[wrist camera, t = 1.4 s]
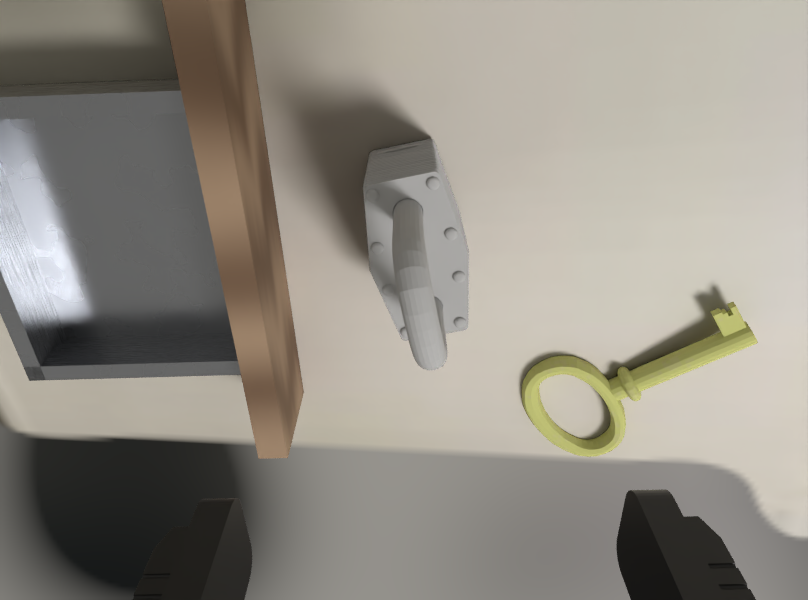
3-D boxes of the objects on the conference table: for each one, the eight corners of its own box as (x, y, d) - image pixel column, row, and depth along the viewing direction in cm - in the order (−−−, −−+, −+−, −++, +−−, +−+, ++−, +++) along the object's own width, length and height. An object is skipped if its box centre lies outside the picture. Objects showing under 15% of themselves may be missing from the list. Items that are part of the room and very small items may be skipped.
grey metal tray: (-39, 87, 24) (-92, 100, 22) (222, 77, 24) (200, 90, 22) (61, 346, 31) (29, 380, 28) (268, 339, 31) (256, 374, 28)
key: (752, 314, 30) (774, 336, 29) (582, 455, 35) (592, 482, 33) (657, 237, 28) (674, 255, 26) (491, 398, 33) (496, 423, 31)
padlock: (356, 152, 26) (331, 243, 17) (445, 133, 25) (467, 217, 17) (391, 290, 29) (385, 425, 21) (470, 276, 29) (499, 407, 20)
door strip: (205, -19, 23) (158, -17, 18) (241, -21, 23) (203, -19, 18) (278, 392, 32) (258, 458, 28) (303, 392, 32) (287, 457, 28)
